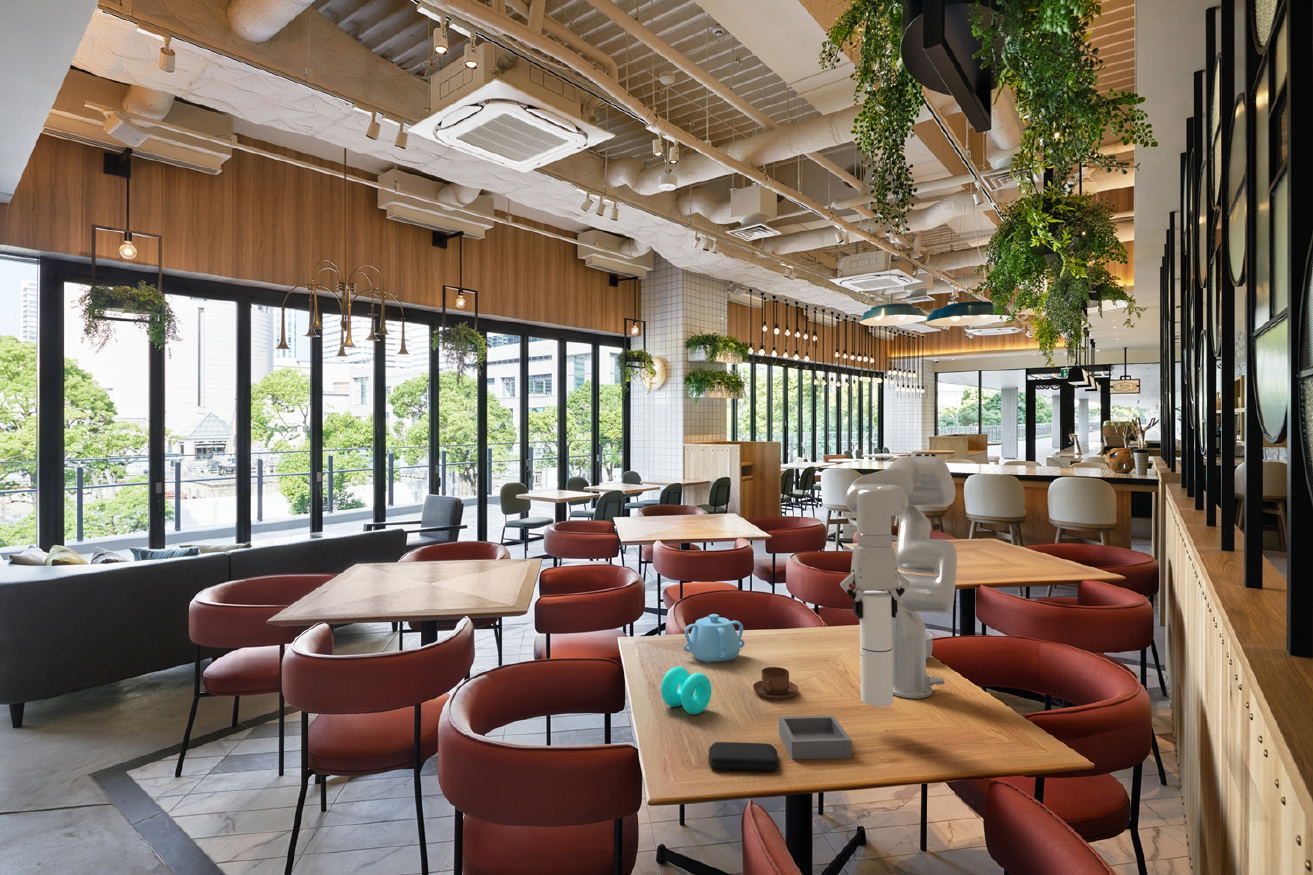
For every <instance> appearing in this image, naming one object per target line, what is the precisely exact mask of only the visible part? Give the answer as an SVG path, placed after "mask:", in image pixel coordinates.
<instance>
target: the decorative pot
mask: <svg viewBox="0 0 1313 875" xmlns="http://www.w3.org/2000/svg"><path fill="white" fill-rule="evenodd" d="M734 625H738V626H739V629H738V633H737V631H736V630H737V629H736V628H735V626H734ZM689 630H691V631H690V635H689ZM743 633H744V626H743V624H742V623H741V622H740V621H738V620H729V619H728V618H726V617H720V615H719V614H717V613H712V614H709V615H708V616H705V617H702V618H699V619H697V620H696V621H695V623H691V624H688V625H687V626H686V627H685V629H684V637H685V638H686V643H685V644H684V645H683V651H684V652H686V653H691V654H692V655H693V657H694V658H695V659H697V660H699V661H703V663H704V664H712V663H713V662H721V661H722V662H726V663H729V662H732V660H733V659H736V658H737V656H739V653H740V651H741V648H743V647H745V641H744V639H742V635H743ZM740 642H741V643H740ZM687 646H688V648H687Z"/></svg>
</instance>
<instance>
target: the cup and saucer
mask: <svg viewBox="0 0 1313 875" xmlns="http://www.w3.org/2000/svg"><path fill="white" fill-rule="evenodd" d="M752 688H753V691H754V692H755V693H756V694H758V695H759V696H761V697H764V698H768V699H776V700H777V699H778V700H779V699H780V700H781V699H788V698H791V697H794V696H795V695H796V694H797V693H799V692H798V691H799V687H798V685H797V684H795V683H793V682H791V681H790V671H789V670H788V669H786V668H784V667H779V666H769V667H765V668H763V669H761V680H759V681H756V682H754V683H753V685H752Z"/></svg>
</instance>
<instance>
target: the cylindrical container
mask: <svg viewBox="0 0 1313 875" xmlns="http://www.w3.org/2000/svg"><path fill="white" fill-rule="evenodd" d="M861 602H862V603H863V618H862V619H859V641H860V642H859V654H860V655H859V656H860V660H859V662H860V663H859V664H860V666H859V667H860V700H861V702H862V703H864V704H866V705H867V706H873V707H880V708H881V707H889V706H891V705H892V704H893V703H894V695H893V677H892V609H891V594H890V593H888V592H885V590H875V591H864V593H863V595H862V597H861Z"/></svg>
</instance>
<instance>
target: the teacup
mask: <svg viewBox="0 0 1313 875" xmlns="http://www.w3.org/2000/svg"><path fill="white" fill-rule="evenodd" d="M933 638H934V634H932V633H931V632H929V631H927V630H926V660H928V659H929V658H930V657H931V656H932V653H933V644H934V642H933V641H934V640H933Z"/></svg>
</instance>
